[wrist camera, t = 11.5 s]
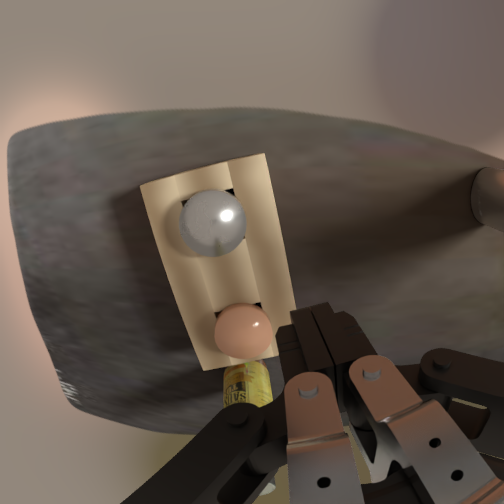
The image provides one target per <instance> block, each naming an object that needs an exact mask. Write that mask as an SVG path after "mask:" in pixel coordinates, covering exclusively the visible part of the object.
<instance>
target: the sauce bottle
mask: <svg viewBox="0 0 504 504" xmlns="http://www.w3.org/2000/svg"><path fill="white" fill-rule="evenodd" d="M272 401H273V399H272V392H271V386H270V380H269V373H268V370H267V368H266V364H265V362H264V361H263V360H262V359H260V360H255V361H251V362H246V363H241V364H237V365H232V366H227V367H226V368H225V372H224V397H223V403H224V406H223V409H224V408H225V407H227V406H229V405H231V404H234V403H240V402H247V403H252V404H254V405H256V406H258V407H262V406H264V405H266V404H268V403H270V402H272ZM274 489H275V478H274V477H273V478H272V479H271V481H270V482H269V483H268V485H267V486H266V487H265V488H264V490H263V491H262V492H261V493H260V495H265V494H268V493H270V492H272V491H273V490H274Z"/></svg>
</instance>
